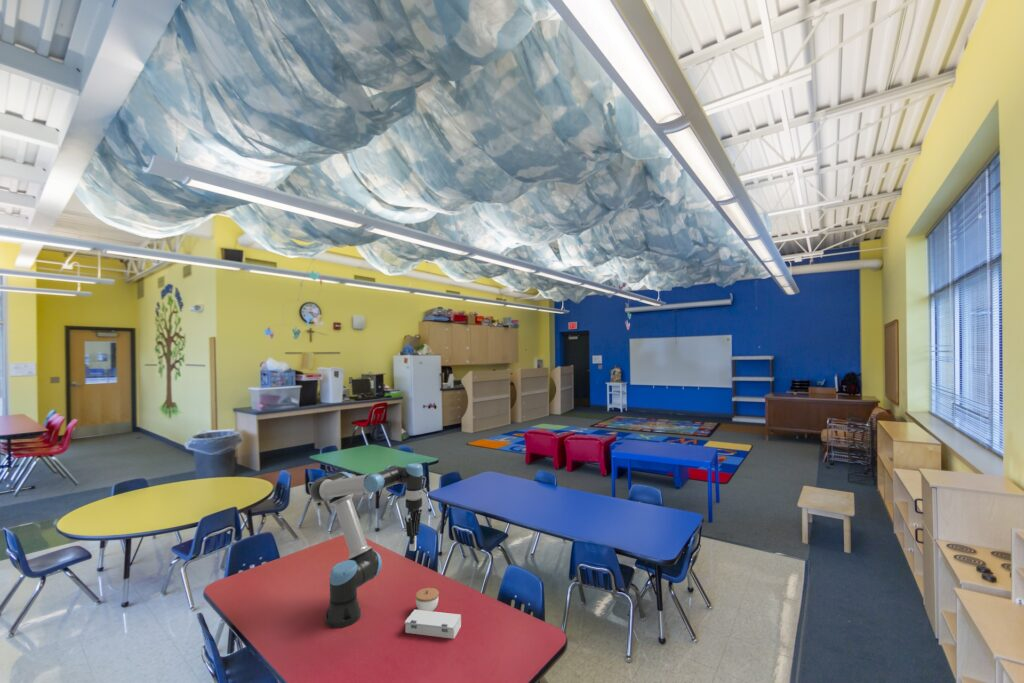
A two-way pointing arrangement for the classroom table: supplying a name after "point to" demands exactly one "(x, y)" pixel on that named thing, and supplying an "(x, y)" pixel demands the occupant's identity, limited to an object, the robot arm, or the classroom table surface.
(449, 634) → the white latched case
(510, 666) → the classroom table surface
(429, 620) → the cover
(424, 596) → the lidded jar
